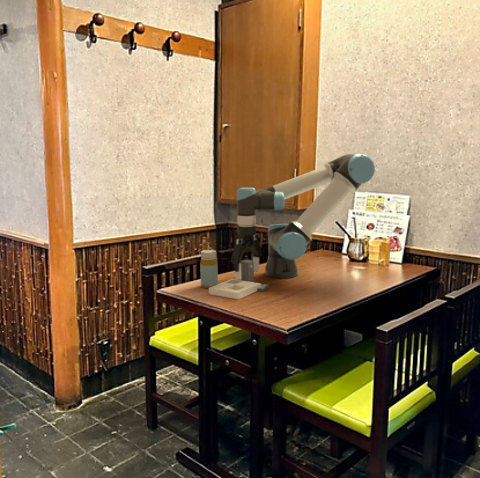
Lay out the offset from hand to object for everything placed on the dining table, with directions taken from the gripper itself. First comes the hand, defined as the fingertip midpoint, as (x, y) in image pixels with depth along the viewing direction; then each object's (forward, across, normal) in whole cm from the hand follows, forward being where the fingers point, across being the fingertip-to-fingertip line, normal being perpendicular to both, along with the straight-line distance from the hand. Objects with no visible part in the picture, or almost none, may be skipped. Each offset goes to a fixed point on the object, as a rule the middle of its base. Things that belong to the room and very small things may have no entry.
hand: (247, 275), depth 206 cm
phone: (+4, +3, +9) cm, 10 cm away
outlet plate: (+4, +12, +2) cm, 13 cm away
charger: (+4, 0, 0) cm, 4 cm away
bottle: (+4, +11, -11) cm, 17 cm away
